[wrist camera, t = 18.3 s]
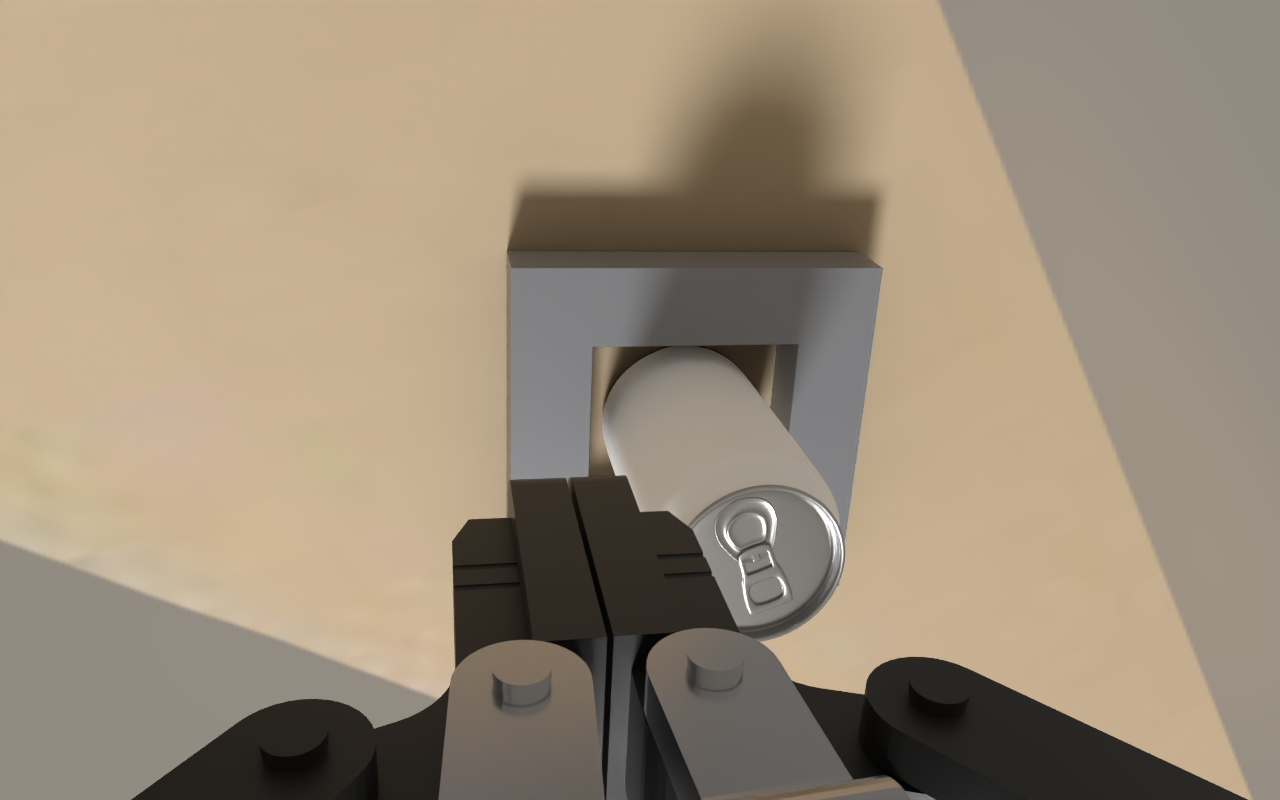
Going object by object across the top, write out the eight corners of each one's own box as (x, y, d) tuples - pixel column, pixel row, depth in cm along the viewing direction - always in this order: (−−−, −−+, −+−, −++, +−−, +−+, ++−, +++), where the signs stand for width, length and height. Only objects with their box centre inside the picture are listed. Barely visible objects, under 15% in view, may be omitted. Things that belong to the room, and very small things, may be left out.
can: (729, 319, 42) (833, 443, 31) (769, 454, 45) (877, 611, 34) (578, 374, 42) (629, 518, 31) (627, 506, 44) (690, 682, 33)
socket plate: (506, 572, 44) (510, 605, 42) (506, 250, 39) (511, 268, 37) (818, 555, 47) (838, 585, 45) (858, 252, 42) (882, 268, 40)
